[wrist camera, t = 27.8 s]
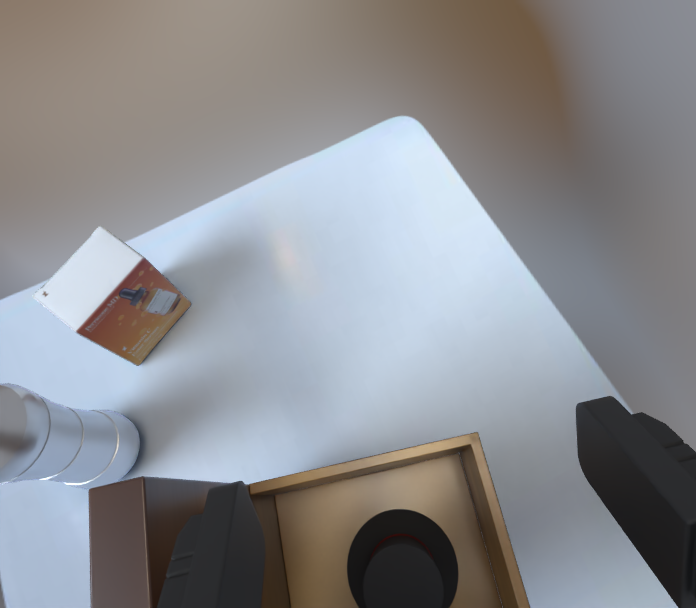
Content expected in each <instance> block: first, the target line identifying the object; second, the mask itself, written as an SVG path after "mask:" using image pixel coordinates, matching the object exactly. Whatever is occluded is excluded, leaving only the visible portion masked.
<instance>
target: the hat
mask: <svg viewBox="0 0 696 608" xmlns="http://www.w3.org/2000/svg"><path fill="white" fill-rule="evenodd" d="M347 577H348V583H349V587H350V590H351V593H352V596H353V598H354V600H355V602H356V604H357V605H358V607H359V608H449V607H450V606H451V604H452V602H453V599H454V597H455V594H456V590H457V585H458V563H457V558H456V554H455V551H454V548H453V546H452V544H451V542H450V540H449V539H448V537H447V535H446V534H445V533H444V531H443V530H442V529H441V528H440V527H439V526H438V525H437V524H436V523H435V522H434V521H432V520H431V519H430V518H428V517H427V516H425V515H423V514H421V513H418V512H416V511H412V510H407V509H393V510H388V511H384V512H382V513H379V514H377V515H375V516H374V517H372V518H371V519H370V520H368V521H367V522H366V523H365V524H364V525H363V526H362V527H361V528H360V530H359V531H358V532H357V534H356V535H355V537H354V539H353V541H352V544H351V547H350V549H349V554H348V560H347Z"/></svg>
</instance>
